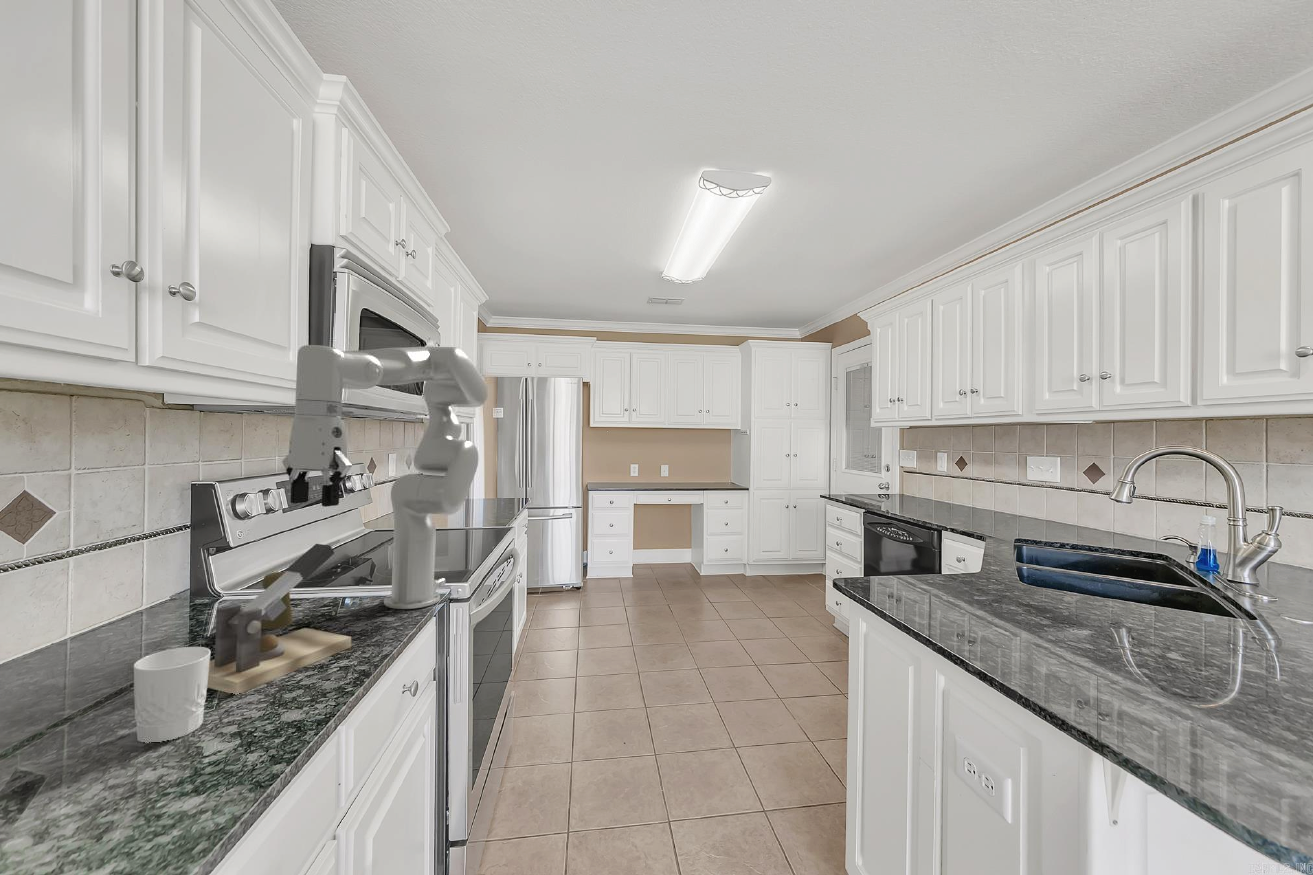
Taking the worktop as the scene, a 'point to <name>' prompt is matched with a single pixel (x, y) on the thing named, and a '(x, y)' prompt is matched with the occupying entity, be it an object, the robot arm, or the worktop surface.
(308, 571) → the lever
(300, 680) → the worktop surface
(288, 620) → the cork
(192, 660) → the white cup
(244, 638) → the nutcracker base
